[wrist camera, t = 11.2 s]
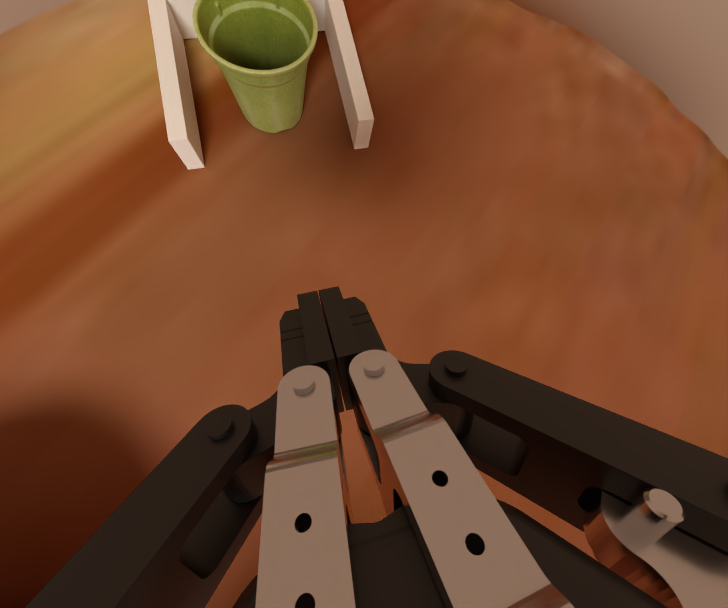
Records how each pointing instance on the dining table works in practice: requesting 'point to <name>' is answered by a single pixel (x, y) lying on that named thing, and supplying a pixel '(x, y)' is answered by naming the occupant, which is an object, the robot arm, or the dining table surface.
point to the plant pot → (261, 54)
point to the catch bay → (169, 28)
